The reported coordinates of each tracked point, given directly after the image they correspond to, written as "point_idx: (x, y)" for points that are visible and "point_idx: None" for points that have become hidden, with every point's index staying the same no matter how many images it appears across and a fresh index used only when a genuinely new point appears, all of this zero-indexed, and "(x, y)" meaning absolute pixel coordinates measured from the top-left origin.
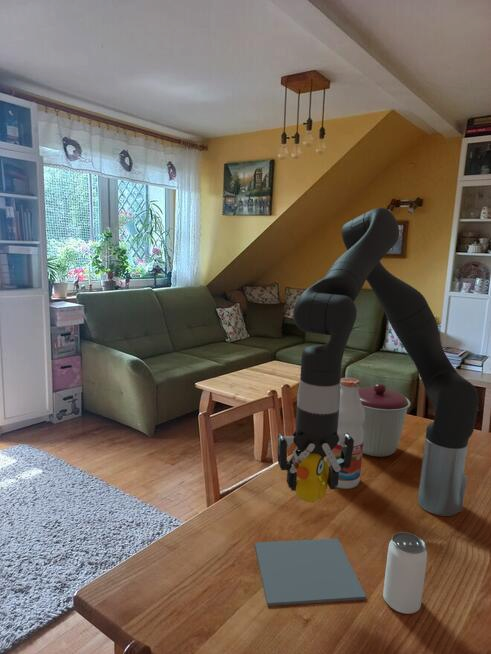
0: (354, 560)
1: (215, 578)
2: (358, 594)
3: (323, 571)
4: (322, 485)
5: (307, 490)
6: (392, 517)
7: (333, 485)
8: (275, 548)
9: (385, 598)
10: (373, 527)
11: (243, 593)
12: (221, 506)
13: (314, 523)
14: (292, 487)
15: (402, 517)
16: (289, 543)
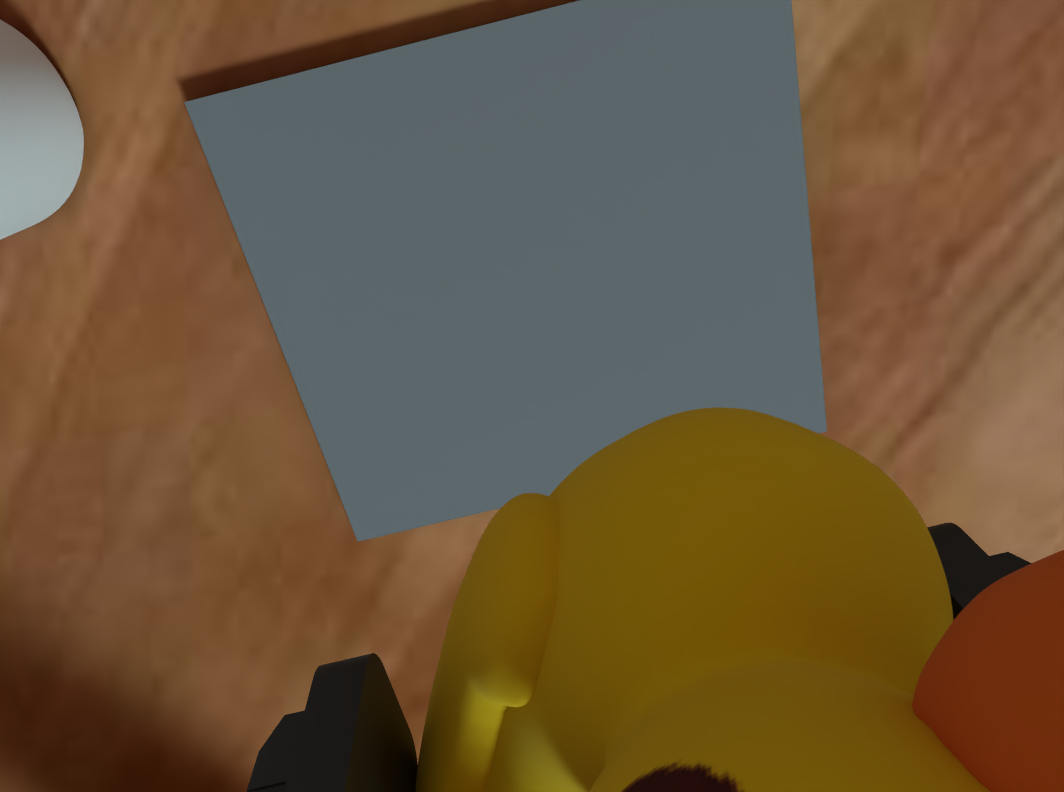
0: (264, 402)
1: (1059, 132)
2: (232, 110)
3: (442, 270)
4: (510, 651)
5: (789, 467)
6: (62, 749)
7: (331, 704)
8: (712, 405)
9: (60, 90)
10: (163, 662)
11: (910, 35)
12: None
13: None
14: (980, 548)
15: (8, 758)
16: None
